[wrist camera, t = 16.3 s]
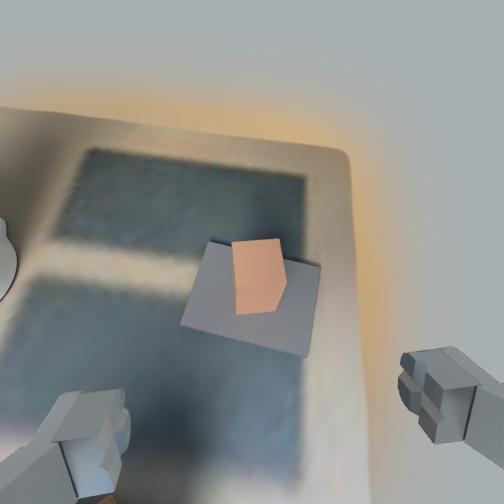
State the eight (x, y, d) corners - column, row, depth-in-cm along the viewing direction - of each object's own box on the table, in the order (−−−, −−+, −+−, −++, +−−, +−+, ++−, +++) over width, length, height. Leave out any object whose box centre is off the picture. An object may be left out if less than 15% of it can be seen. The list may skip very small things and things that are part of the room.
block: (236, 315, 39) (236, 287, 30) (232, 278, 41) (231, 242, 32) (275, 311, 39) (287, 282, 30) (269, 274, 41) (279, 238, 32)
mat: (181, 326, 39) (179, 324, 38) (209, 244, 44) (208, 241, 43) (306, 357, 38) (307, 356, 37) (319, 270, 43) (320, 267, 42)
